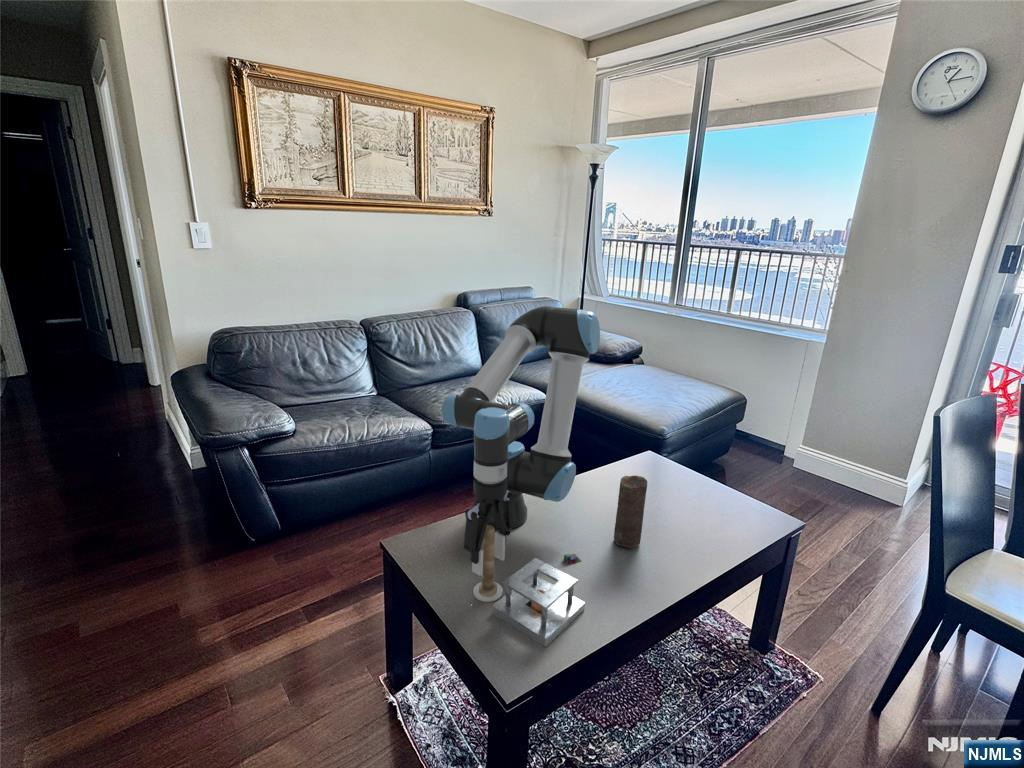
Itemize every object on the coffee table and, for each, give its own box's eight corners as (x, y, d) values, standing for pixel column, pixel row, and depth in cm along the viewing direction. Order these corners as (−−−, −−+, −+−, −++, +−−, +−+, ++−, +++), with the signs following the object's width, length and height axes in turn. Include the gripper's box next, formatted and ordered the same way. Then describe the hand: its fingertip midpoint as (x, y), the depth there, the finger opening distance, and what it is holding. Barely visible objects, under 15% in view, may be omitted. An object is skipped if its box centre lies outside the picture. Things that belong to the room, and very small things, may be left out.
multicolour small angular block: (569, 567, 135) (570, 559, 135) (563, 561, 138) (564, 553, 137) (582, 562, 137) (583, 555, 137) (576, 557, 140) (577, 549, 139)
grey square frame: (492, 612, 118) (493, 582, 115) (533, 581, 129) (534, 552, 126) (545, 647, 109) (547, 614, 106) (584, 609, 120) (586, 579, 117)
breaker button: (527, 610, 118) (528, 595, 117) (537, 602, 121) (538, 587, 120) (540, 618, 116) (541, 603, 115) (549, 609, 119) (550, 594, 118)
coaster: (467, 592, 124) (467, 591, 124) (487, 578, 129) (487, 577, 129) (488, 606, 120) (488, 605, 120) (508, 591, 125) (508, 590, 125)
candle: (640, 553, 141) (648, 487, 136) (613, 549, 143) (619, 483, 137) (639, 537, 148) (647, 474, 143) (613, 534, 150) (619, 471, 144)
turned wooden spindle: (474, 591, 124) (474, 528, 119) (487, 582, 127) (487, 520, 122) (488, 599, 121) (489, 535, 116) (500, 590, 125) (501, 527, 120)
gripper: (471, 499, 106) (470, 593, 113) (531, 467, 121) (527, 553, 127) (446, 486, 111) (446, 578, 117) (506, 458, 125) (504, 541, 132)
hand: (488, 565), depth 122 cm, fingers open, 7 cm apart
